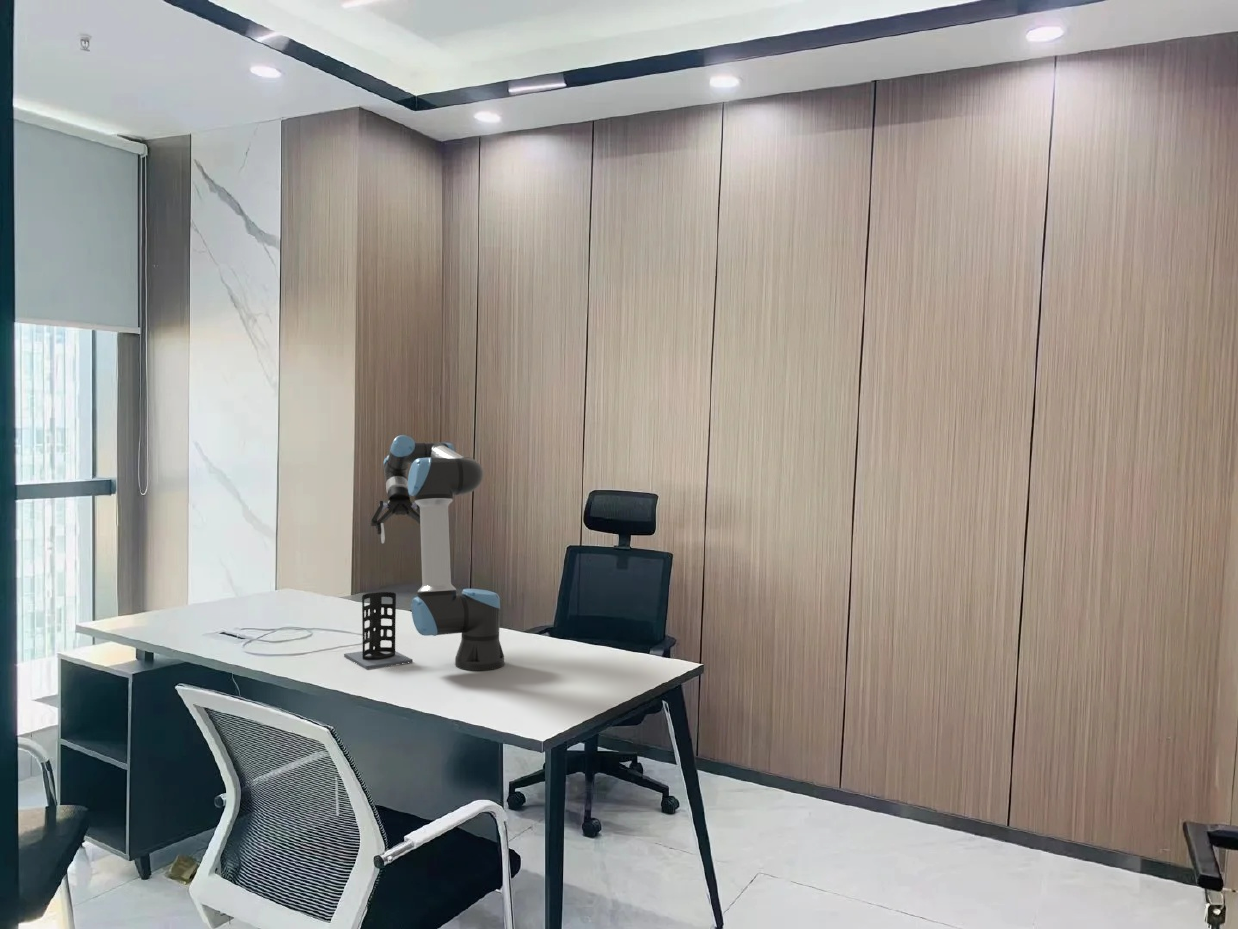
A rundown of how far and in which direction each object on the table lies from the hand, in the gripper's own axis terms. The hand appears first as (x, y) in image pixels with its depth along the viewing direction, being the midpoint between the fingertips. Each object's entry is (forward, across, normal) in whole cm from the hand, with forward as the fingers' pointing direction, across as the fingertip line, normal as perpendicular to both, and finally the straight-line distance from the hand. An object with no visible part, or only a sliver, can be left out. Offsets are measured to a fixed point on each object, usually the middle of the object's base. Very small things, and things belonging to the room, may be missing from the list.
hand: (404, 540), depth 296 cm
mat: (+36, +10, -15) cm, 40 cm away
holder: (+35, +10, -14) cm, 39 cm away
